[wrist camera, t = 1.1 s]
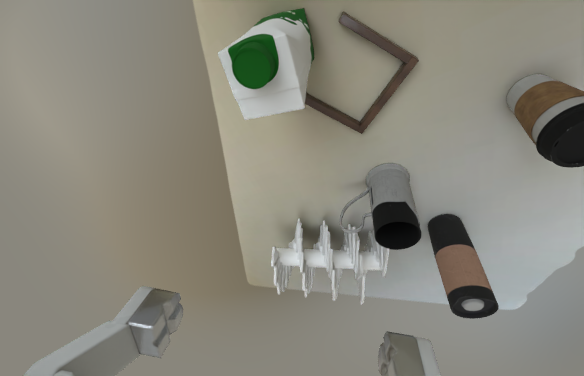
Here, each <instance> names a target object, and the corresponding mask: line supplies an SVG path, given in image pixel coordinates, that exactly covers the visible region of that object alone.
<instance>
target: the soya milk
mask: <svg viewBox="0 0 584 376" xmlns="http://www.w3.org/2000/svg"><path fill="white" fill-rule="evenodd" d="M218 56H219V58H220V61H221V63H222V66H223V68H224V71H225V74H226V76H227V79H228V81H229V84H230V86H231V89H232V92H233V95H234V98H235V100H236V101H237V102H238V104H239V107H240V109H241V112H242V114H243V117H244V119H245V120H248V119H253V118H258V117H263V116H268V115H274V114H279V113H284V112H289V111H294V110H300V109H304V108H305V98H306V89H307V80H308V75H309V71H310V67H311V64H312V61H313V60H314V49H313V44H312V39H311V34H310V30H309V25H308V22H307V18H306V14H305V11H304V8H302V9H297V10H291V11H285V12H281V13H278V14H274V15H271V16H268V17H265V18H263V19H261V20H260V21H259V22H258V23H257V24H256V25H254V26H253V27H252V28H251V29H250V30H249V31H248V32H247V33H246V34H244V35H243V36H242V37H240V38H239V39H237V40H236V41H234V42H233V43H231V44H230V45H229V46H227V47H226V48H224V49H223V50H221V51H220V52H218Z"/></svg>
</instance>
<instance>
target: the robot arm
mask: <svg viewBox="0 0 584 376" xmlns="http://www.w3.org/2000/svg"><path fill="white" fill-rule="evenodd" d="M180 299H181V297H180V294H179V293H176V292H171V291H166V290H160V289H156V288H151V287H146V286H142V287H141V288H139V289H138V290H137V292H136V293H135V294H134V295H133V297H132V298H131V299H130V300H129V301H128V303H127V304H126V305H125V306H124V307H123V309H122V310H121V311H120V313H119V314H118V315H117V316H116V317H115V319H114V320H113V321H107V322H106V323H104V324H102V325H100V326H99V327H97V328H95V329H93V330H92V331H90V332H88V333H86V334H85V335H83V336H81V337H79V338H77V339H76V340H74V341H72V342H71V343H69V344H67V345H65V346H63V347H62V348H60V349H58V350H56V351H55V352H53V353H51V354H50V355H48V356H46V357H44V358H42V359H40V360H39V361H37V362H35V363H34V364H33V365H32V367H31V368H30V369H29V370H28V371H27V372H26V373H25V374H24V375H23V376H115V375H116V374H118V373H119V372H120V371H121V370H123V369H124V368H125V367H126V366H127V365H129V364H130V363H131V362H132V361H134V360H135V359H136V358H137V357H139V356H140V355H139V354H142V355H148V356H153V357H158V358H161V356H162V355H163V353H164V351H165V350H166V348H167V346H168V344H169V343H170V334H172V333H173V332H175V331H176V330H177V328H178V327H179V325H180V322H181V319H182V316H183V307H182V305H181V304H180V303H179V301H180ZM378 367H379V372H380V374H381V375H382V376H441V374H440V371H439V367H438V363H437V360H436V357H435V353H434V350H433V347H432V343H431V341H430V340H429V339H425V338H419V337H414V336H410V335H404V334H398V333H392V332H386V333H385V335H384V343H382V344H381V345H380V348H379V355H378Z"/></svg>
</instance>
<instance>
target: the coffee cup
mask: <svg viewBox="0 0 584 376" xmlns="http://www.w3.org/2000/svg"><path fill="white" fill-rule="evenodd" d="M506 101H507V104H508V106H509V108H510V109H511V110H512V112H513V113H514V114H515V116H516V118H517V119H518V121H519V122H520V124H521V125H522V127H523V128H524V130H525V131H526V132H527V134H528V135H529V137H530V138H531V140H532V141H533V143H535V144H536V147H537V150H538V152H539V154H541V155H542V156H543V157H544V158H545V159H547V160H549V161H552V162H554V163H555V164H556V165H559V166H562V167H581V166H584V91H581V90H579V89H576V88H574V87H572V86H569V85H567V84H565V83H562V82H559V81H557V80H555V79H553V78H551V77H549V76H546V75H543V74H534V75H530V76H527V77H525V78H523V79H521V80H519V81H518V82H517V83H516V84H515V85H514V86H513V87H512V88H511V89H510V91H509V92H508V95H507V100H506Z"/></svg>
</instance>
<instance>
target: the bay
mask: <svg viewBox="0 0 584 376" xmlns="http://www.w3.org/2000/svg"><path fill="white" fill-rule="evenodd" d="M339 23H341V24H343V25H344V26H346V27H348V28H349V29H351V30H353V31H354V32H356V33H357V34H359V35H361V36H362V37H364V38H366V39H367V40H369V41H371V42H372V43H374V44H375V45H377V46H379V47H380V48H382V49H384V50H385V51H387V52H389V53H390V54H392V55H393V56H395V57H397V58H398V59H400V60H402V61H403V62H404V63H403V65H402V66H401V67H400V69H399V70H398V71H397V73H396V74H395V76H394V77H393V78H392V80H391V81H390V82H389V84H388V85H387V86H386V88H385V89H384V90H383V92H382V93H381V94H380V96H379V97H378V98H377V100H376V101H375V102H374V104H373V105H372V106H371V108H370V109H369V110H368V112H367V113H366V115H365V116H364V117H363V119H362V120H361V121H360V122H359V121H357V120H355V119H353V118H351V117H350V116H348V115H346V114H344V113H342V112H340V111H338V110H337V109H335V108H333V107H331V106H329V105H327V104H325V103H324V102H322V101H320V100H318V99H316V98H314V97H312V96H311V95H309V94H307V93H306V98H305V104H307V105H308V106H310V107H312V108H314V109H316V110H318V111H320V112H322V113H324V114H325V115H327V116H329V117H331V118H333V119H335V120H337V121H339V122H340V123H342V124H344V125H346V126H348V127H350V128H352V129H354V130H356V131H358V132H359V133H361V134H362V133H363V132H364V130H365V129H366V128H367V127H368V125H369V124H370V123H371V121H372V120H373V119H374V118H375V116H376V115H377V114H378V112H379V111H380V110H381V108H382V107H383V106H384V105H385V103H386V102H387V101H388V99H389V98H390V97H391V96H392V94H393V93H394V92H395V90H396V89H397V88H398V87H399V85H400V84H401V83H402V81H403V80H404V79H405V78H406V76H407V75H408V74H409V72H410V71H411V70H412V69H413V67H414V66H415V65H416V63H417V62H418V61H419V60H418V58H417V57H416V56H414V55H412V54H411V53H409V52H408V51H406V50H404V49H403V48H401V47H399V46H398V45H396V44H395V43H393V42H391V41H390V40H388V39H387V38H385V37H383V36H382V35H380V34H379V33H377V32H375V31H374V30H372V29H371V28H369V27H367V26H366V25H364V24H362V23H361V22H359V21H358V20H356V19H354V18H353V17H351V16H350V15H348V14H346V13H345V12H343V13H342V15H341V17H340V19H339Z"/></svg>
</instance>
